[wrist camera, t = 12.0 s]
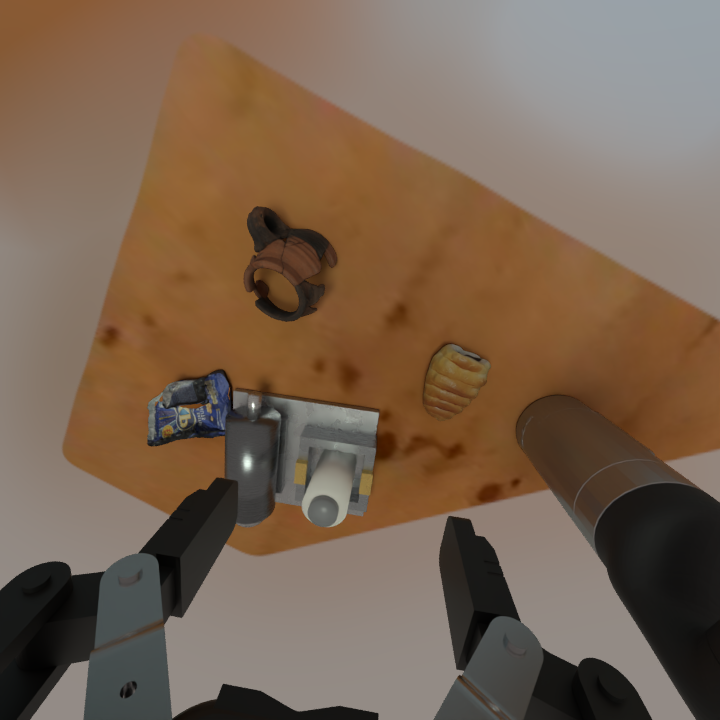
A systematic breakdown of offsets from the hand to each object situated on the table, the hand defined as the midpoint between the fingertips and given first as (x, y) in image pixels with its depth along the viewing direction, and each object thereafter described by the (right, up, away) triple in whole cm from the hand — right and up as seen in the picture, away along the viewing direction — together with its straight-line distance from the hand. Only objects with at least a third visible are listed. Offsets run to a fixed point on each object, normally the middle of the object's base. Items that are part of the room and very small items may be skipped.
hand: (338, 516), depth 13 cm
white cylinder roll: (-2, -8, +33) cm, 34 cm away
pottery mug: (-7, +17, +27) cm, 33 cm away
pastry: (+12, +4, +30) cm, 32 cm away
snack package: (-21, 0, +34) cm, 40 cm away
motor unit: (-7, -7, +34) cm, 35 cm away
